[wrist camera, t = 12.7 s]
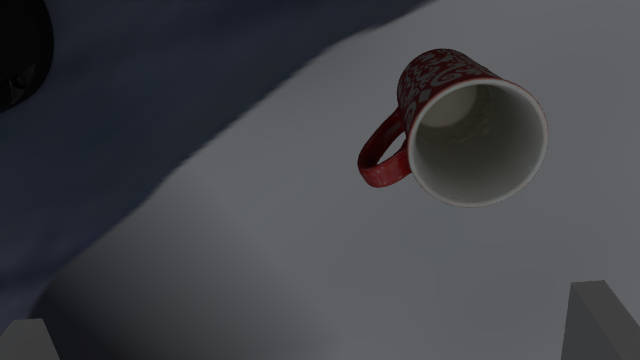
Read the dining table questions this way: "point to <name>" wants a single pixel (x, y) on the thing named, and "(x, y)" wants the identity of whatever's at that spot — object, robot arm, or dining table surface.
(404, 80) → the mug
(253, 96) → the dining table surface
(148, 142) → the dining table surface
